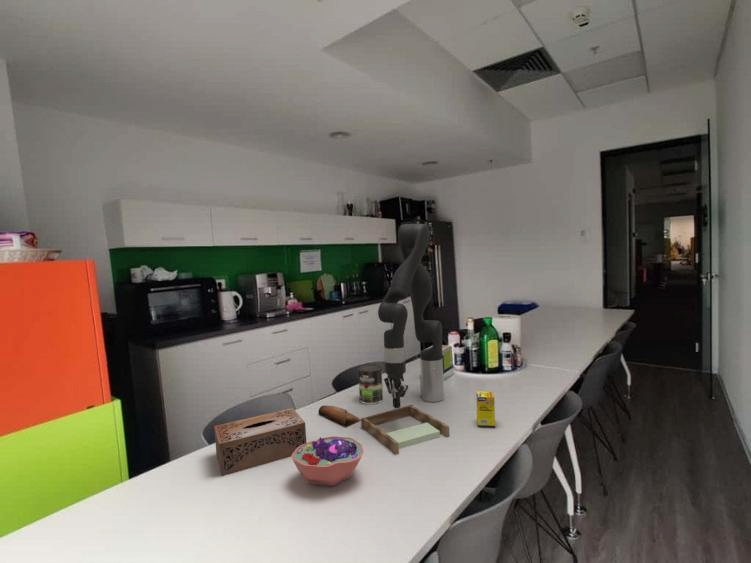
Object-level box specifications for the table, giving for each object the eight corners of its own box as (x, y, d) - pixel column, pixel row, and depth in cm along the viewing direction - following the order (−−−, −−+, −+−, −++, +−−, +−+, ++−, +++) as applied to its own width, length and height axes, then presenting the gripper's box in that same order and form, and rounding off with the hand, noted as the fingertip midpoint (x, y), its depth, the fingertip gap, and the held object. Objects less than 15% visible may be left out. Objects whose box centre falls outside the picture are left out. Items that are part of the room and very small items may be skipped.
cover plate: (386, 440, 133) (386, 433, 133) (427, 429, 140) (426, 422, 140) (398, 450, 126) (397, 443, 126) (440, 438, 133) (439, 431, 132)
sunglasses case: (363, 420, 149) (355, 407, 146) (351, 434, 145) (343, 422, 143) (335, 408, 162) (327, 396, 160) (323, 421, 159) (315, 409, 156)
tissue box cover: (221, 477, 115) (219, 444, 115) (216, 455, 128) (214, 426, 127) (307, 452, 127) (305, 422, 126) (294, 435, 140) (292, 407, 139)
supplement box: (495, 428, 137) (494, 397, 136) (477, 427, 138) (476, 396, 137) (494, 420, 143) (493, 391, 142) (476, 420, 144) (475, 390, 143)
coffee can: (378, 405, 163) (376, 372, 162) (355, 403, 167) (353, 370, 166) (387, 396, 172) (385, 365, 171) (365, 394, 176) (363, 363, 175)
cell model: (301, 464, 120) (298, 428, 119) (366, 462, 119) (364, 425, 118) (286, 498, 103) (283, 456, 102) (363, 496, 102) (361, 454, 101)
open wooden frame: (361, 427, 142) (360, 418, 142) (412, 413, 153) (411, 404, 153) (394, 454, 122) (394, 443, 122) (450, 435, 133) (450, 425, 133)
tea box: (436, 371, 204) (434, 343, 203) (454, 374, 198) (453, 345, 197) (421, 380, 192) (420, 350, 191) (440, 383, 186) (439, 352, 185)
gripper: (376, 357, 144) (378, 404, 145) (395, 365, 132) (397, 415, 133) (393, 354, 147) (395, 400, 148) (414, 361, 136) (416, 410, 137)
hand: (396, 407), depth 141 cm, fingers closed
